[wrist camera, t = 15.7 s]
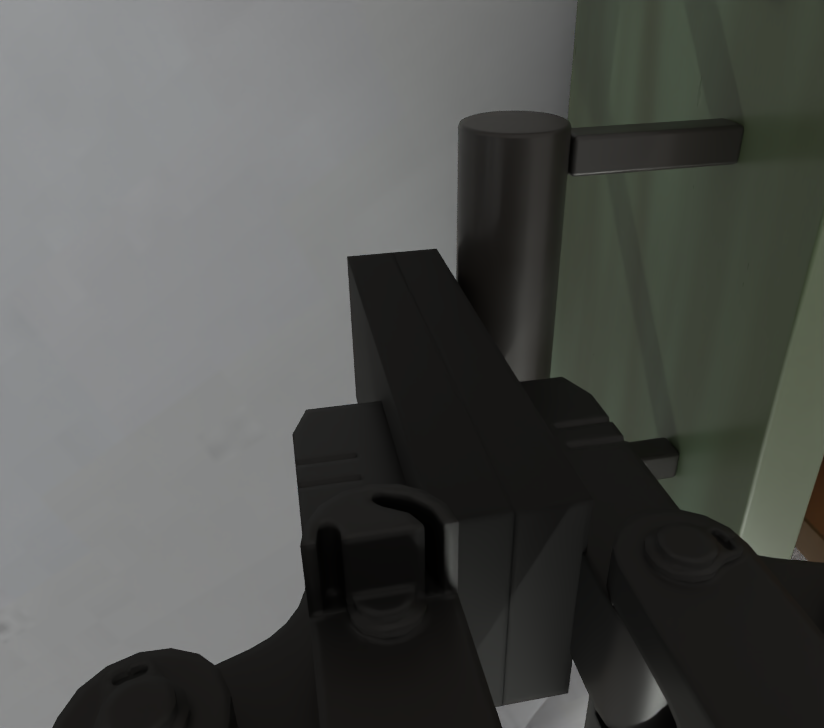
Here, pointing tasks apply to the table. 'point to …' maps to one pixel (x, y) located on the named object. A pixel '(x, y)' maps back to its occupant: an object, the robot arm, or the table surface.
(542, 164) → the drawer
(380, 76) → the table surface
